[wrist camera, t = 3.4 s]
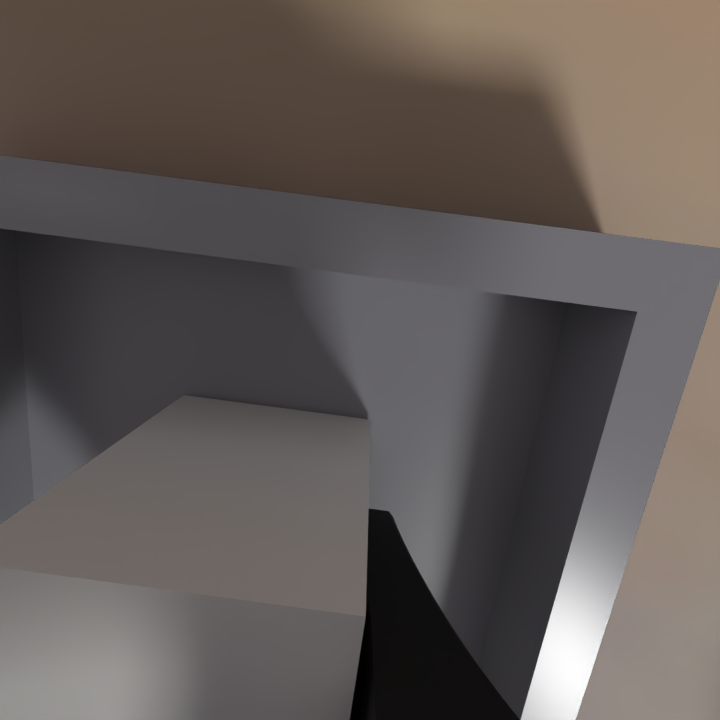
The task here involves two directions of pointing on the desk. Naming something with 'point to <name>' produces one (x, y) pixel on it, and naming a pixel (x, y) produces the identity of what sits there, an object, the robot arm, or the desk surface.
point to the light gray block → (193, 572)
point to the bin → (371, 374)
